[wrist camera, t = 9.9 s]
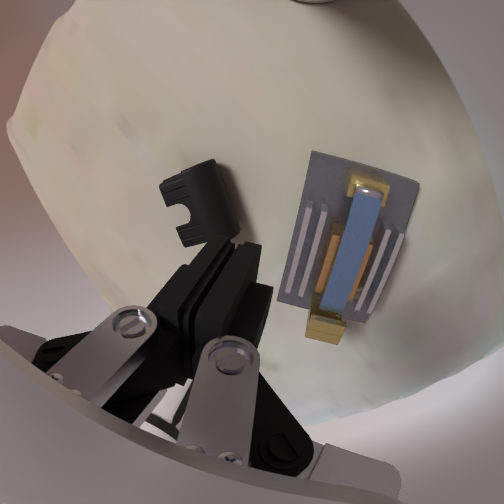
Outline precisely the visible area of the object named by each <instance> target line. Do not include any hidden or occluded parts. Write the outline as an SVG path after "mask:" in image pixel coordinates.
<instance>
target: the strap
mask: <svg viewBox="0 0 504 504" xmlns="http://www.w3.org/2000/svg"><path fill="white" fill-rule="evenodd" d="M383 197H384V192H382V191H378V190H375V189H372V188H368V187H365V186H362V185H358V184H357V185H356V188H355V192H354V196H353V200H352V203H351V207H350V211H349V214H348V218H347V221H346V225H345V228H344V231H343V235H342V238H341V241H340V244H339V248H338V251H337V254H336V257H335V260H334V263H333V266H332V269H331V273H330V276H329V278H328V281H327V284H326V287H325V290H324V293H323V296H322V299H321V302H320V304H319V309H321V310H325V311H329V312H333V313H337V314H342V313H343V310H344V308H345V305H346V303H347V300H348V298H349V295H350V293H351V290H352V288H353V285H354V283H355V280H356V277H357V275H358V272H359V269H360V267H361V264H362V261H363V258H364V255H365V253H366V250H367V247H368V244H369V241H370V238H371V235H372V232H373V229H374V226H375V223H376V220H377V216H378V213H379V210H380V207H381V203H382V200H383Z"/></svg>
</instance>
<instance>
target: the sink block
mask: <svg viewBox="0 0 504 504" xmlns="http://www.w3.org/2000/svg"><path fill="white" fill-rule="evenodd" d="M357 184H358V185H362V186H365V187H368V188H372V189H375V190H378V191H382V192H384V197H383V200H382V203H381V207H380V210H379V213H378V216H377V220H376V223H375V226H374V229H373V232H372V235H371V238H370V241H369V244H368V247H367V250H366V253H365V255H364V258H363V261H362V264H361V267H360V269H359V272H358V275H357V277H356V280H355V283H354V285H353V288H352V290H351V293H350V295H349V298H348V300H347V303H346V305H345V308H344V310H343V313H342V314H337V313H333V312H329V311H325V310H321V309H319V304H320V302H321V299H322V296H323V293H324V290H325V287H326V284H327V281H328V278H329V276H330V273H331V269H332V266H333V263H334V260H335V257H336V254H337V251H338V248H339V244H340V241H341V238H342V235H343V231H344V228H345V225H346V221H347V218H348V214H349V211H350V207H351V203H352V200H353V196H354V192H355V188H356V185H357ZM418 188H419V183H418V182H417V181H414V180H412V179H409V178H406V177H403V176H400V175H397V174H394V173H391V172H388V171H385V170H381V169H378V168H375V167H372V166H368V165H365V164H362V163H358V162H355V161H351V160H347V159H344V158H340V157H336V156H332V155H328V154H325V153H321V152H316V151H312V152H311V157H310V161H309V166H308V171H307V175H306V180H305V184H304V189H303V193H302V198H301V202H300V207H299V211H298V215H297V220H296V224H295V228H294V232H293V237H292V241H291V245H290V249H289V253H288V257H287V261H286V265H285V269H284V273H283V277H282V281H281V285H280V289H279V293H278V297H277V301H279V302H282V303H286V304H290V305H294V306H297V307H301V308H305V309H309V313H308V319H307V326H306V332H305V337H307V338H311V339H315V340H319V341H323V342H327V343H332V344H336V345H338V343H339V341H340V339H341V337H342V335H343V332H344V330H345V328H346V322H343V321H342V318H345V319H350V320H354V321H358V322H362V323H365V321H366V319H367V317H368V315H369V314H371V313H372V311H373V309H374V307H375V305H376V302H377V300H378V298H379V296H380V294H381V292H382V289H383V287H384V285H385V283H386V280H387V278H388V276H389V273H390V271H391V269H392V266H393V264H394V261H395V259H396V256H397V254H398V251H399V249H400V246H401V243H402V241H403V238H404V235H405V234H404V233H403V232H404V230H405V227H406V224H407V221H408V218H409V215H410V213H411V210H412V207H413V203H414V200H415V197H416V194H417V191H418Z"/></svg>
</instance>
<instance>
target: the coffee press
mask: <svg viewBox="0 0 504 504" xmlns="http://www.w3.org/2000/svg"><path fill="white" fill-rule="evenodd" d="M192 385H193V379H192V380H191V379H187V381H186V383H185V385H184V386H181V385H179V384H175V386H174V387H171V388H167V392H166V394H165V396H164V397H163V398H162V400H161V401H160V402H159V404H158V405H157V406H156V407H155V409H154V410H153V411H152V412H151V414H150V415H149V416H148V417H147V419H146V420H145V421H144V422H143V424H142V425H141V426H140V427H139V428H140V429H143V430H145V431H147V432H149V433H152V434H154V435H156V436H158V437H161V438H163V439H166V440H168V441H170V442H173V443H176V442H177V439H178V435H179V431H180V428H181V424H182V421H183V417H184V413H185V410H186V406H187V403H188V399H189V396H190V392H191V389H192Z"/></svg>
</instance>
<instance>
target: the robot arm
mask: <svg viewBox="0 0 504 504" xmlns="http://www.w3.org/2000/svg"><path fill="white" fill-rule="evenodd" d="M297 1H302V2H307V3H324V2H331V1H335V0H297ZM261 248H262V246H261V245H259V244H255V243H250V242H245V243H244V245H240V244H239V245H238V246H237V247H236V249H235V243H232V242H231V241H230V238H228V237H224V236H220V235H215V234H214V235H213V236H212V237H211V238H210V240H209V241H208V242H207V243H206V245H205V246H204V247H203V248H202V249H201V251H200V252H199V253H198V254H197V256H196V257H195V258H194V259H193V261H192V262H191V263H190V264H189V265H186V264H183V265H182V266H180V267H179V269H178V270H177V271H176V272H175V273H174V275H173V276H172V277H171V278H170V280H169V281H168V282H167V283H166V284H165V286H164V287H163V288H162V289H161V290H160V292H159V293H158V294H157V295H156V297H155V298H154V299H153V300H152V302H151V303H150V304H149V305H148V306H147V308H145V307H142V306H135V305H133V306H126V307H123V308H120V309H118V310H116V311H115V312H113V313H112V314H111V315H110V316H109V317H108V318H106V319H105V320H104V321H103V322H102V323H101V324H100V325H98V326H97V327H96V328H95V329H94V330H93V331H89V332H84V333H80V334H75V335H70V336H65V337H61V338H55V339H52V340H49V341H47V340H46V338H43V337H40V336H37V335H34V334H31V333H28V332H25V331H22V330H19V329H17V328H14V327H11V326H1V327H0V504H406V503H404V502H402V501H400V500H397V497H398V494H399V491H400V487H401V477H400V474H399V471H398V470H397V469H396V468H395V467H394V466H393V465H390V464H388V463H386V462H382V461H379V460H375V459H372V458H369V457H365V456H362V455H359V454H356V453H353V452H350V451H347V450H344V449H341V448H339V447H336V446H333V445H330V444H328V443H326V444H325V445H322V444H319V443H317V442H314V441H312V440H311V438H310V437H309V435H308V434H307V433H306V431H305V430H304V429H303V428H302V426H301V425H300V424H299V423H298V421H297V420H296V419H295V418H294V416H293V415H292V414H291V413H290V411H289V410H288V409H287V407H286V406H285V405H284V404H283V402H282V401H281V400H280V398H279V397H278V396H277V395H276V393H275V392H274V391H273V389H272V388H271V387H270V385H269V384H268V383H267V381H266V380H265V379H264V377H263V376H262V375H261V373H260V372H259V367H260V355H259V353H258V351H257V348H258V345H259V342H260V339H261V336H262V333H263V329H264V326H265V323H266V319H267V316H268V312H269V308H270V303H271V298H272V294H273V287H272V286H268V285H264V284H260V283H256V280H257V274H258V268H259V261H260V255H261ZM187 379H191V380H192V379H193V385H192V389H191V392H190V396H189V399H188V403H187V406H186V410H185V413H184V417H183V421H182V424H181V428H180V431H179V435H178V439H177V442H176V443H173V442H170V441H168V440H166V439H163V438H161V437H158V436H156V435H154V434H152V433H149V432H147V431H145V430H143V429H140V428H139V427H140V426H141V425H142V424H143V422H144V421H145V420H146V419H147V417H148V416H149V415H150V414H151V412H152V411H153V410H154V409H155V407H156V406H157V405H158V404H159V402H160V401H161V400H162V398H163V397H164V396H165V394H166V392H167V388H171V387H174V386H175V384H179V385H181V386H184V385H185V383H186V381H187Z"/></svg>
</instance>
